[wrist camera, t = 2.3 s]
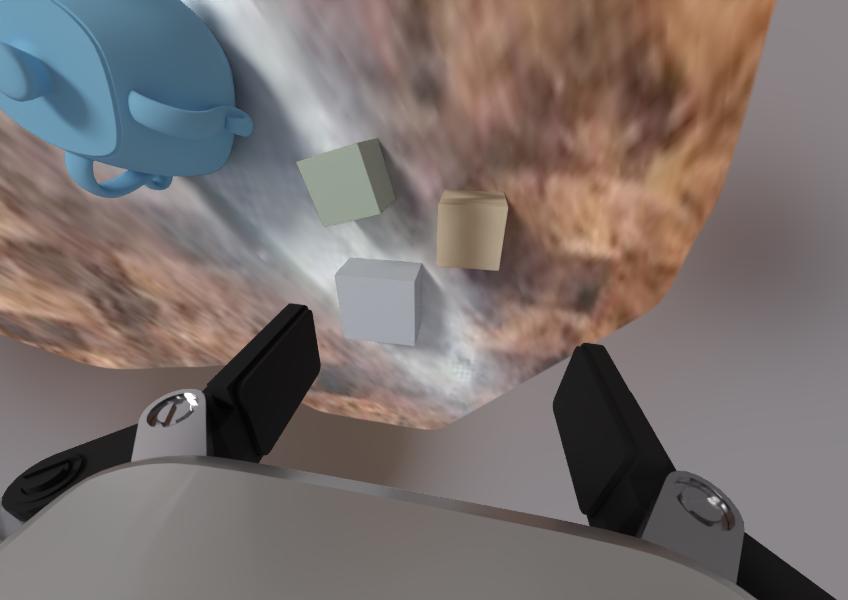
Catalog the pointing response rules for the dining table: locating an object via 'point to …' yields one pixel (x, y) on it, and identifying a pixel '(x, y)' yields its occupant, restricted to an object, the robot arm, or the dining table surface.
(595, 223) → the dining table surface
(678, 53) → the dining table surface
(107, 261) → the dining table surface
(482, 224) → the maple cube
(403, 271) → the base block
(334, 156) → the sage cube
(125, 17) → the decorative pot
